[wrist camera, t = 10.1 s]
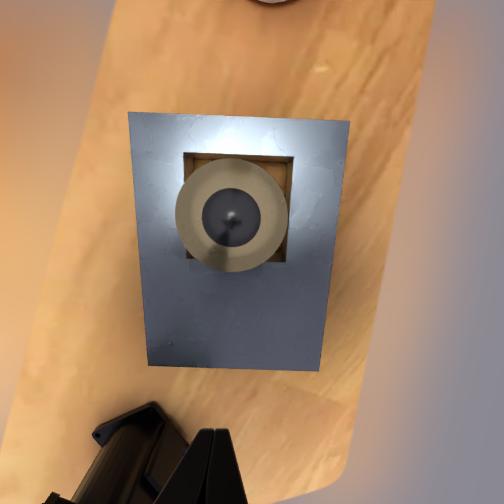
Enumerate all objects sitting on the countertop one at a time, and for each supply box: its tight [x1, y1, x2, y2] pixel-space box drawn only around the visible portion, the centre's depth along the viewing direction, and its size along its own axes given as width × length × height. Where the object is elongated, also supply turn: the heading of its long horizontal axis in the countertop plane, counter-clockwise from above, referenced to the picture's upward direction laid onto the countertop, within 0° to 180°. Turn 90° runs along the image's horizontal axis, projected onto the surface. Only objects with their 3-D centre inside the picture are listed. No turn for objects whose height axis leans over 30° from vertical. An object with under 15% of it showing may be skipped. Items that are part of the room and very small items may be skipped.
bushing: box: [175, 158, 288, 272], centre depth 13 cm, size 5×5×7 cm
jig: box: [128, 112, 350, 371], centre depth 16 cm, size 16×12×2 cm
